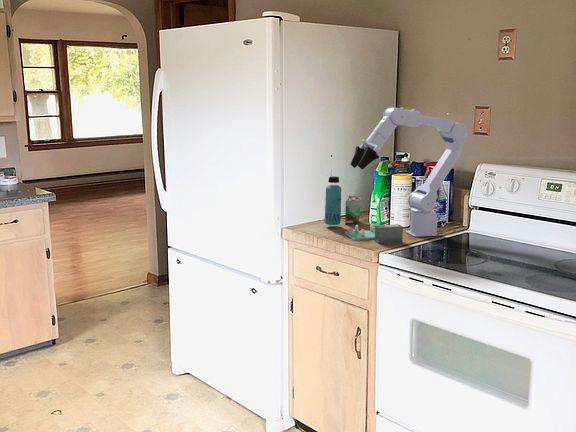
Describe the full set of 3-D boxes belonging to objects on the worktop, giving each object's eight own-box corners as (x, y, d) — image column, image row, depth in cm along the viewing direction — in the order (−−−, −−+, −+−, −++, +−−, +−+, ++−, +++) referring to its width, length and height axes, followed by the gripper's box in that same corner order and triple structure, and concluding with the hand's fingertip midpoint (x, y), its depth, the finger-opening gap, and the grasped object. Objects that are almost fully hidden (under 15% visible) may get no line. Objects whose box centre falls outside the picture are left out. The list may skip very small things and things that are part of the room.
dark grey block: (397, 240, 222) (398, 224, 221) (402, 243, 218) (403, 226, 217) (374, 241, 220) (375, 225, 219) (378, 244, 216) (379, 227, 215)
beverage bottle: (322, 228, 238) (324, 177, 234) (325, 224, 244) (326, 175, 240) (339, 229, 237) (341, 178, 232) (341, 225, 243) (343, 175, 239)
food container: (360, 226, 242) (361, 201, 240) (344, 225, 243) (345, 200, 241) (362, 219, 254) (363, 195, 252) (348, 218, 255) (348, 195, 253)
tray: (379, 231, 234) (380, 223, 233) (390, 238, 224) (390, 229, 223) (344, 233, 230) (345, 224, 230) (353, 240, 221) (354, 231, 220)
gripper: (363, 129, 223) (341, 158, 222) (378, 129, 209) (355, 161, 208) (377, 141, 225) (355, 170, 224) (393, 142, 211) (370, 173, 210)
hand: (356, 166), depth 216 cm, fingers open, 7 cm apart
